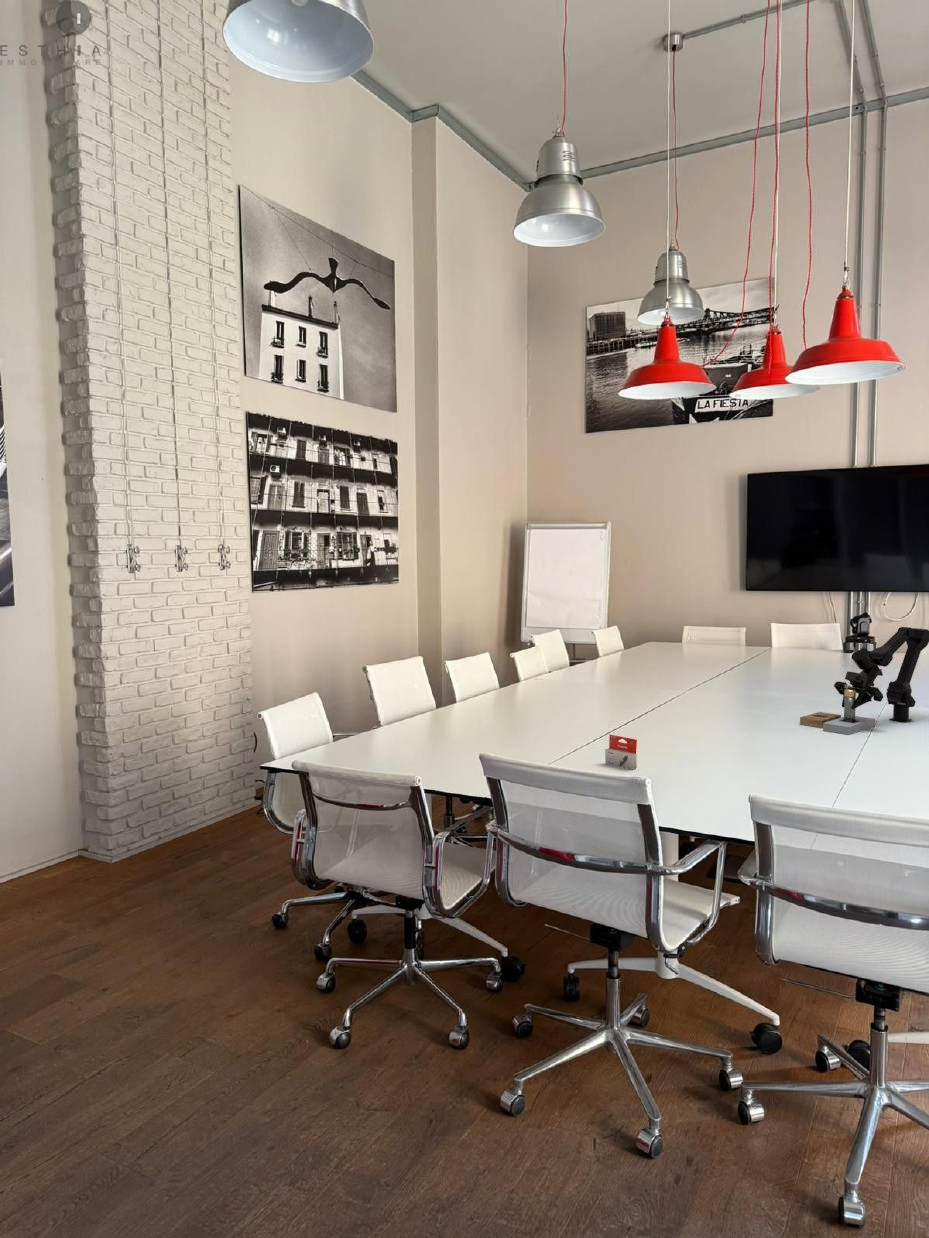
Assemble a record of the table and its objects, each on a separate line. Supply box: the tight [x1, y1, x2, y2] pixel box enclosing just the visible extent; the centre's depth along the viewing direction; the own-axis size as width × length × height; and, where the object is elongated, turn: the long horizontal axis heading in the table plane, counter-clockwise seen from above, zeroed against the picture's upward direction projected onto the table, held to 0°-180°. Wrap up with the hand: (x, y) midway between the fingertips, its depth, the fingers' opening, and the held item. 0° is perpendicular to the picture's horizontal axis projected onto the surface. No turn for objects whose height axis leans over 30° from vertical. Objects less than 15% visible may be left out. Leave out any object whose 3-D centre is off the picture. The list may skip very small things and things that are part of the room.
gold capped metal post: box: [843, 689, 857, 723], centre depth 320 cm, size 4×4×14 cm
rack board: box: [822, 715, 876, 736], centre depth 321 cm, size 22×10×3 cm, turn 130°
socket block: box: [799, 711, 842, 729], centre depth 330 cm, size 16×9×3 cm, turn 130°
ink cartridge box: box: [604, 734, 638, 771], centre depth 269 cm, size 2×11×10 cm, turn 44°
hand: (847, 707), depth 319 cm, fingers closed on gold capped metal post, 4 cm apart
